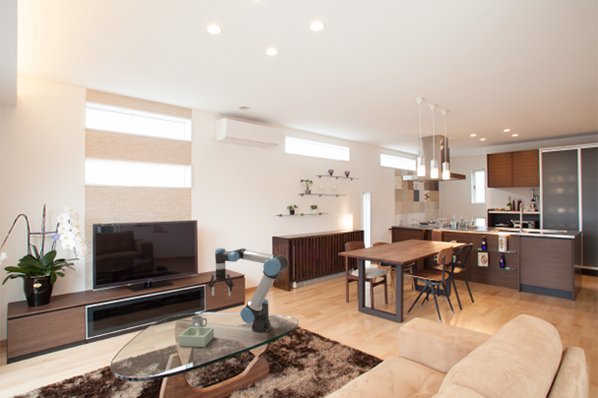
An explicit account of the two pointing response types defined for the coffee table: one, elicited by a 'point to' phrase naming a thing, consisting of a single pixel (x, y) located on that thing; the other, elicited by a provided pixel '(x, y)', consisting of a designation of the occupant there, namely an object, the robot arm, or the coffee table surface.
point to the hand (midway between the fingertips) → (221, 295)
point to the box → (196, 337)
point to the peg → (197, 329)
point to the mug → (198, 321)
